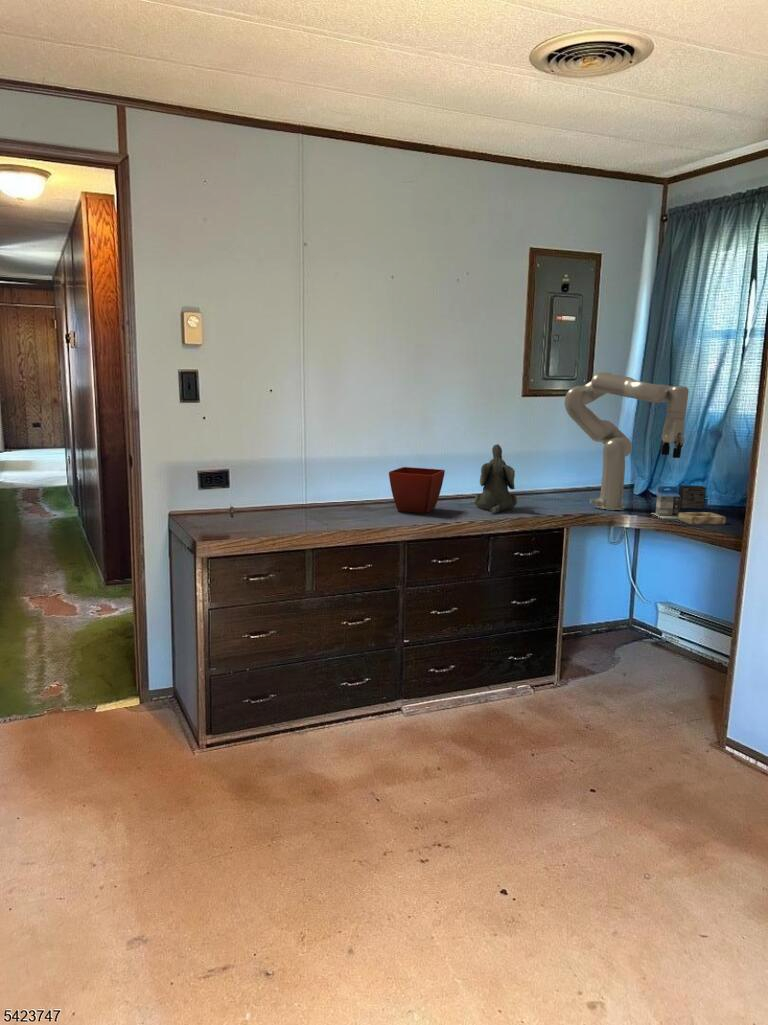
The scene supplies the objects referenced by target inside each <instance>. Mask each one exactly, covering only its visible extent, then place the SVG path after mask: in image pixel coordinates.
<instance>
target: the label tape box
mask: <svg viewBox="0 0 768 1025" xmlns="http://www.w3.org/2000/svg"><path fill="white" fill-rule="evenodd" d="M678 488H679V485H677V486H676V485H675V486H673V485H672V486H671V485H669V486H667V485H665V486H664V485H663V486H662V485H658V486H657V492H656V505H655V513H656V514H657V515H670V516H679V512H680V495H679V494H678V493H679V492H678Z"/></svg>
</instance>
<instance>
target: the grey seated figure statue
mask: <svg viewBox="0 0 768 1025" xmlns="http://www.w3.org/2000/svg"><path fill="white" fill-rule="evenodd" d="M491 452H492V457H493V458H492V459H490V460H489V462H486V463H483V464H482V466H481V468H480V478H479V484H480V487H482V492H481V493H477V494H476V495H475V497H474V505H475V506H476V507H477V508H479V509H482V510H488V511H490V513H491V514H493V513H495V514H497V513H498V511H500V512H502V511H504V510H510V509H513V508H514V507H515V506H516V505H517V503H518V502H517V501H518V498H517V494H515V493H514V494H513V493H510V492H509V489H510V490H515V489H516V487H515V472H516V471H515V469H514V468H513V467H511V465H507V463H506V462H505V460H503V450H502V447H501V445H499V444H498V443H497V444H494V445H493V446H492V450H491Z"/></svg>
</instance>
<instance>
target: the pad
mask: <svg viewBox="0 0 768 1025" xmlns="http://www.w3.org/2000/svg"><path fill="white" fill-rule="evenodd" d="M651 514H654V515H656V516H658V517H657V518H659V517H660V518H659V519H661V518H662V520H678V518H679V516H670V515H657V514H656V512H651V513H650V515H651ZM654 515H653V516H654ZM656 516H655V517H656Z"/></svg>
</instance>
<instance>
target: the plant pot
mask: <svg viewBox="0 0 768 1025" xmlns="http://www.w3.org/2000/svg"><path fill="white" fill-rule="evenodd" d="M445 471H446V470H445V469H441V468H440V469H438V468H437V469H436V468H427V467H424V468H423V467H413V466H411V467H410V466H409V467H408V466H402V467H400V468H396V469H394V470H391V471H390V470H389V471H388V479H389V484H390V489H391V493H392V497H393V501H394V503H395V507H396V510H397V511H398V512H407V513H419V514H427V513H429V512H431V511H432V510H434V509H435V508H436V506H437V503H438V500H439V497H440V493H441V491H442V487H443V483H444V478H445V473H446V472H445Z"/></svg>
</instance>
